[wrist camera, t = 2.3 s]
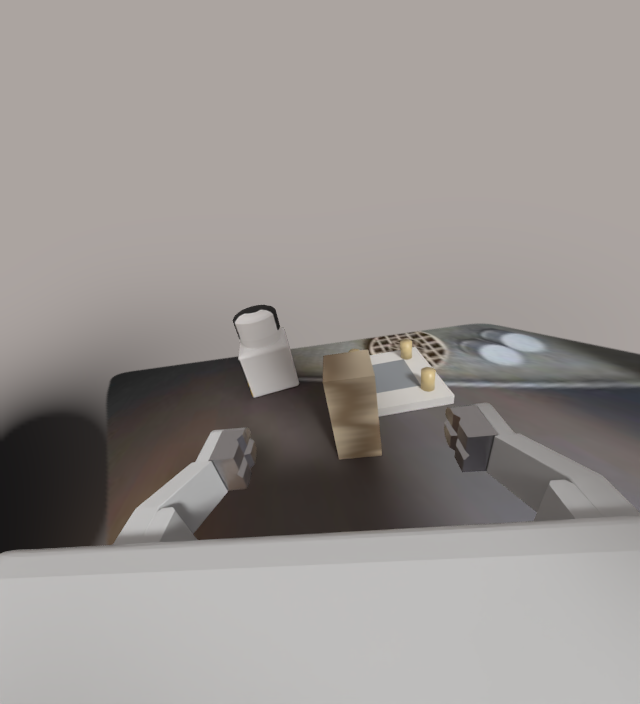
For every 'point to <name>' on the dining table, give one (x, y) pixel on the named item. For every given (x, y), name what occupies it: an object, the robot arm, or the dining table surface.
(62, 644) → the robot arm
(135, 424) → the dining table surface
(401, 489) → the dining table surface
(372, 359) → the white pegged board
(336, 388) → the maple block
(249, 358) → the medicine bottle
